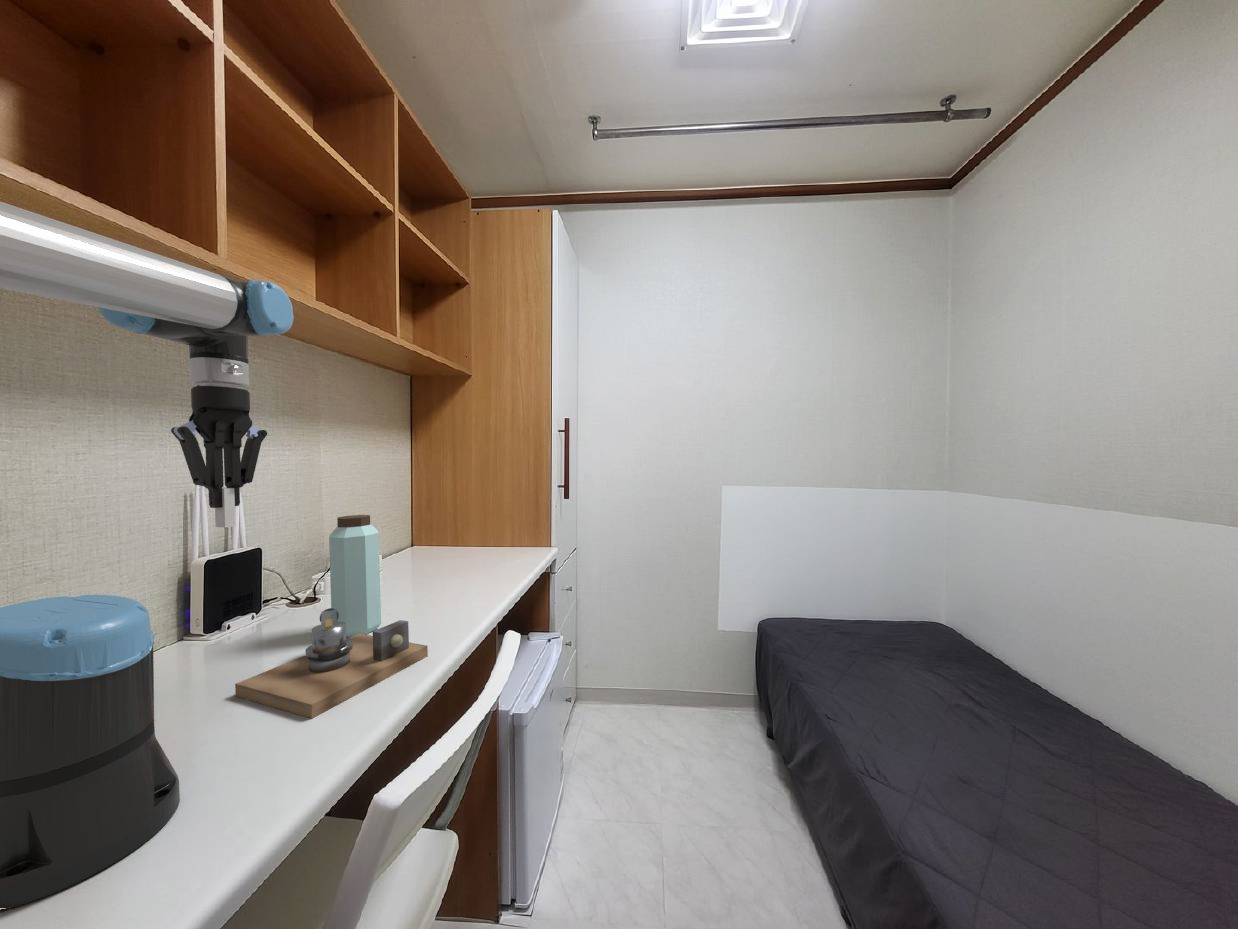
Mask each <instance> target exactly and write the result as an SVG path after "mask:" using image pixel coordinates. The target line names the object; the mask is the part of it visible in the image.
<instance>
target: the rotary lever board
mask: <svg viewBox="0 0 1238 929" xmlns="http://www.w3.org/2000/svg"><path fill="white" fill-rule="evenodd" d="M409 633H410V632H409V621H408V620H401V619H399V620H397V621H395V622H393V623H390V624H388V625H385V626H382V627H381V628H378V629H376V630H374V631H372V635H370V634H366V635H365V634H357V635H354V636H352V637H349V639H352V641H353V648H352V649H351V650H350V651H349V652H347V653H345V654H344V655H342V656H340V657H337V658H334V659H330V660H324V661H316V660H309V659H307V658H306V654H305V655H303V656H301V657H298V658H296V659H293V660H291V661H290V660H289V661H287V662H286V663H283V664H280V665H279V666H275V667H274V668H271V669H268V670H266V671H263V672H260V673H258V674H256V675H254V676H251V677H249V678H246V679H244V680H241V681H239V682H236V683H234V688H235V689H234V691H235V693H234V694H235V697H237V698H240V699H244V700H247V701H251V702H254V703H258V704H260V705H261V704H262V705H265V706H269V707H272V708H275V709H279V710H282V711H285V712H289V713H292V714H296V715H300V716H302V717H305V718H310V719H314V718H316V717H317V716H319V715H321V714H323V713H325V712H326V711H329V710H331V709H332V708H334V707H336V706H337V705H339V704H341V703H343V702H345V701H347V700H349V699H351V698H352V697H355V696H357V695H359V694H360V693H362V692H364V691H366V690H369V688H372V687H373V686H375V685H376V684H379V683H380V682H382V681H384V680H386V679H388V678H391V677H392V676H393V675H395V674H398V673H399V672H400V671H403V670H404V669H407V668H408V667H410V666H412V665H414V664H416V663H418V662H420V661H421V660H423V659H425V658H427V657H428V651H429V650H428V645H427V644H426V645H425V644H421V643H414V642H410V641H409V640H410V636H409V635H410V634H409Z"/></svg>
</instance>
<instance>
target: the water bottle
mask: <svg viewBox="0 0 1238 929" xmlns="http://www.w3.org/2000/svg"><path fill="white" fill-rule="evenodd" d="M336 521H337V524H336V525H337V527H335V529H333V530H332V532H331V533H330V534H329V537H328V543H329V544H328V545H329V547H328V548H329V574H330V575H329V577H330V578H329V579H330V581H329V582H330V608H333V609H336V610H337V611H338V613H339V618H338V620H337V622H345V623H346V638H349V637H352V636H354V635H357V634H365V635H369V634H370V633H373V631H375V630H378V629H379V627H380V626H381V624H382V608H381V607H382V606H381V605H382V604H381V601H382V600H381V574H380V573H381V572H380V570H381V569H380V568H381V566H380V536H379V535H380V534H379V530H378V529H377V528H376V527H375V526H373V525H372V523H371V514H355V515H353V514H352V515H343V516H337V520H336Z"/></svg>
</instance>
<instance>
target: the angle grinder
mask: <svg viewBox="0 0 1238 929" xmlns="http://www.w3.org/2000/svg"><path fill="white" fill-rule="evenodd" d="M338 618H339V613H338V611H337V610H336V609H333V608H331V607H330V608H325V609H324V610H323V611H321V613H320V615H319V622H320V624H317V625H316V626H314V627H313V628H312V629H311V645H309V646H307V647H306V648H305V655H306V658H307V659H309V660H316V661H324V660H330V659H334V658H337V657H340V656H342V655H344V654H345V653H347V652H349V651H350V650H351V649H352V648H353V641H352V639H349V638H347V637H346V623H345V622H337V620H338Z"/></svg>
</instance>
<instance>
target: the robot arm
mask: <svg viewBox="0 0 1238 929" xmlns="http://www.w3.org/2000/svg"><path fill="white" fill-rule="evenodd" d="M1 289H2V290H8V291H13V292H17V293H23V294H29V295H34V296H38V297H43V298H49V299H54V300H59V301H63V302H64V301H65V302H68V303H69V302H70V303H74V304H80V305H85V306H91V307H96V308H98V311H99V313H100V315H101V316H102V317H103V318H104V319H105V320H106V321H108V322H109V323H110V324H112V325H114V326H116V327H118V328H121V329H125V330H128V331H131V332H133V333H136V334H138V335H145V336H150V337H153V338H154V337H155V338H158V339H162V340H167V341H171V342H176V343H178V344H179V343H180V344H183V345H187V346H188V348H189V349H188V350H189V370H190V376H189V377H190V379H189V380H190V383H191V384H192V385H193V387H192V388H190V397H191V400H190V401H191V405H190V406H191V411H192V413H191V415H190V416H189V418H188V422H185V423H183V424H182V425H180V426H173V427H172V428H171V429H170V431H171V434H172V435H173V436H174V437H175V438H176V439H177V440H178V442H179V445H180V446H181V450H182V453H183V456H184V459H185V462H186V465H187V467H188V471H189V474H190V477H191V480H192V483H193V484H194V485H195V486H199V487H200V486H201V487H204V488H205V489H207V490H208V505H209V508H210V509H214V514H215V516H214V517H215V518H214V520H215V528H233V527H236V507H239V506H240V503H241V494H240V493H241V492H240V489H241V488H243V487H244V485H247V484H250V483H252V482H253V480H254V476H255V472H256V468H257V463H258V459H259V455H260V451H261V446H262V442H263V441H264V439H265V438H266V437H267V436H268V431H267V430H266V429H260V428H258V427H256V426H255V425H254V424H253V420H252V418H251V417H250V410H251V394H250V392H249V390H248V389H247V388H249V387H250V374H249V373H250V371H249V370H250V369H249V368H250V366H249V352H248V350H249V349H248V348H249V346H248V345H249V344H248V341H249V340H248V339H249V338H248V337H250V336H251V337H252V336H253V337H255V336H257V337H258V336H259V337H260V336H261V337H267V336H273V335H274V336H276V335H282V334H285V333H287V332H288V331H289V330H290V329H291V328H292V326H293V323H294V318H295V317H294V311H293V309H294V308H293V304H292V302H291V299H290V298H289V295H288V294H287V292H286V291H284V289H283V288H282V287H280V286H279V285H278V284H276V283H274V282H272V281H264V280H257V279H250V280H246V281H245V280H238V279H235V278H232V277H228V276H226V275H223V274H219V273H215V272H212V271H210V270H207V269H203V268H200V267H199V266H198V267H196V266H194V265H191V264H189V263H186V262H182V261H179V260H176V259H174V258H171V257H168V256H165V255H161V254H159V253H155V252H153V251H150V250H146V249H143V248H140V247H138V246H135V245H132V244H128V243H125V242H123V241H120V240H117V239H114V238H111V237H108V236H105V235H101V234H99V233H96V232H93V231H89V230H86V229H84V228H82V227H78V226H75V225H72V224H69V223H66V222H63V221H61V220H58V219H54V218H51V217H49V216H45V215H42V214H39V213H36V212H34V211H30V210H27V209H24V208H21V207H18V206H17V205H16V206H15V205H12V204H9V203H7V202H3V201H0V290H1ZM194 385H195V386H194ZM197 433H198V434H199V436H200V437H201V438H202V439H203V440H202V441H203V447H204V449H205V459H204V457H203V456H204V455H203V454H202V450H201V447H200V444H199V441H198V439H197V437H196V435H197ZM245 436H246V437H247V438H246V441H245V443H244V446H242V444H243V443H242V441H243V440H242V439H243V437H245ZM242 447H243V451H242V455H241V448H242ZM224 486H225V487H224ZM154 638H155V634H154V632H153V630H152V629H151V619H150V614H149V611H148V608H147V607H146V606H145V605H144V604H143V603H142V602H140V601H138V600H136V599H133V598H130V597H125V596H121V595H120V596H119V595H111V594H110V595H109V594H81V595H78V596H65V595H64V596H55V597H54V596H53V597H47V598H41V599H40V598H39V599H34V600H29V601H23V602H17V603H13V604H9V605H5V606H3V607H0V908H8V909H12V908H15V907H19V906H22V905H25V904H27V903H31V902H34V901H36V900H40V899H42V898H44V897H47V896H49V895H51V894H55V893H57V892H60V891H62V890H63V889H66V888H68V887H71V886H72V885H75V884H77V883H80V882H81V881H83V880H86V879H87V878H89V877H91V876H93V875H96V873H98V872H101V871H103V870H104V869H106V868H108V867H110V866H111V865H113V864H115V863H116V862H118V861H119V860H121V859H123V858H124V857H126V856H127V855H129V854H130V853H132V852H133V851H135V850H136V849H138V848H139V847H141V846H142V845H144V844H145V843H146V842H147V841H149V840H150V839H151V838H153V836H155V835H156V834H157V833H158V832H160V830H161V829H162V828H164V826H165V825H166V824H167V823H168V822H169V821H170V819H171V818H172V817H173V816H174V814H175V813H176V811H177V809H178V807H179V805H180V803H181V802H180V800H181V798H180V797H181V795H180V779H179V776H178V774H177V772H176V770H175V768H174V766H173V765H172V763H171V762H170V760H169V758H168V756H167V755H166V753H165V751H164V749H163V748H162V746H161V744H160V742H159V741H158V739H157V737H156V731H155V730H156V729H155V687H154V686H155V685H154V683H155V680H154V679H155V674H154V670H155V669H154V665H155V664H154V663H155V662H154V643H155V642H154V640H155V639H154ZM9 907H10V908H9Z"/></svg>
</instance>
